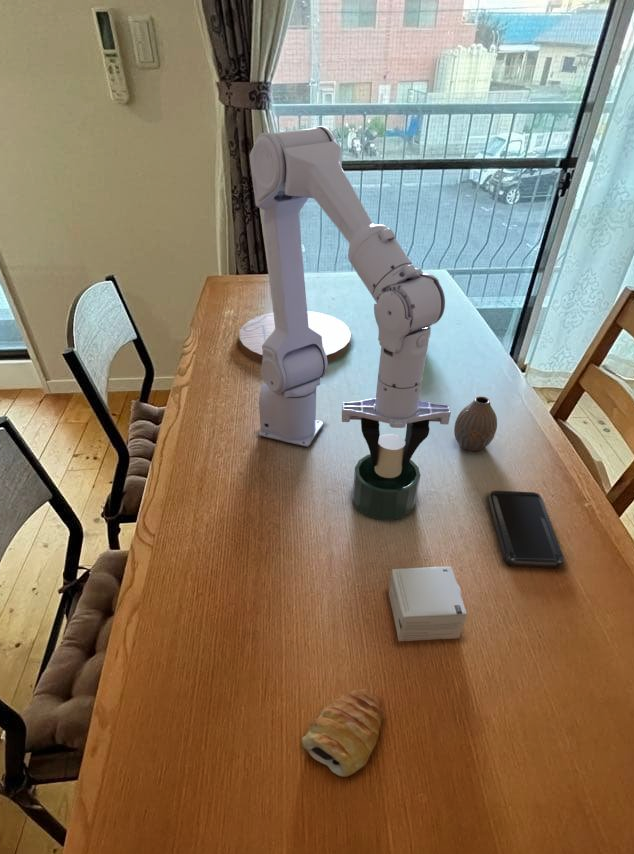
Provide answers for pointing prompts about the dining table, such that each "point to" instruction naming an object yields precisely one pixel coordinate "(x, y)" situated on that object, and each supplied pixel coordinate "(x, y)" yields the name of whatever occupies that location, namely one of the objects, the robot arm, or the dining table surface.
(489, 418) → the vase
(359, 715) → the pastry
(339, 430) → the dining table surface
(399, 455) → the candle
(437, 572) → the small box
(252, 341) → the trivet
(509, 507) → the phone
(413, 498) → the dark green bowl
